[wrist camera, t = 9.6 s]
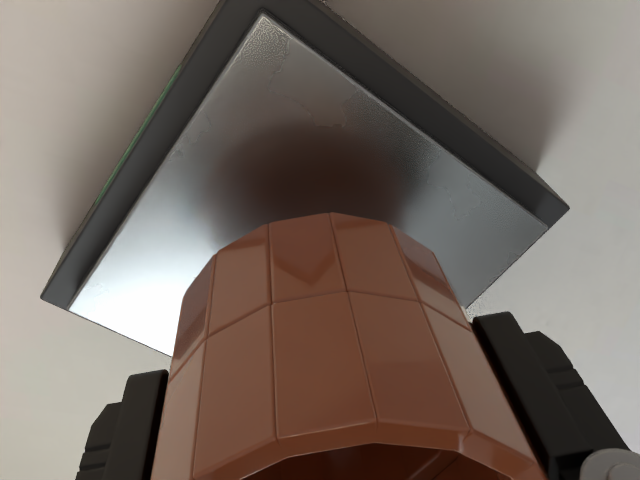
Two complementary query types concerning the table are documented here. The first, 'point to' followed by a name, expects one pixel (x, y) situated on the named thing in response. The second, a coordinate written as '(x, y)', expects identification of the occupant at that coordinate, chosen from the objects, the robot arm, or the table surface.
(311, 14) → the scale
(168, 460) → the terracotta flower pot
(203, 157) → the pan
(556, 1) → the table surface
